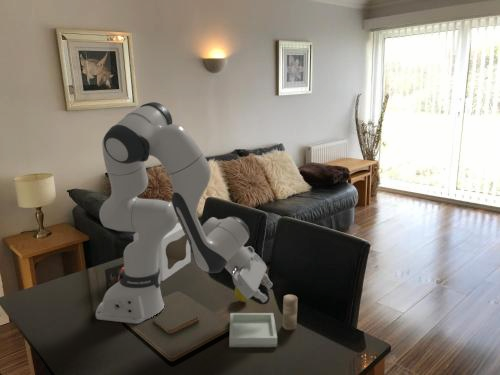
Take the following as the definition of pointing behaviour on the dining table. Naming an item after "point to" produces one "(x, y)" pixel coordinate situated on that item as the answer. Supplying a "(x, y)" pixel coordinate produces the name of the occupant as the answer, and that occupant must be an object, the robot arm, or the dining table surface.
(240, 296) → the lemon
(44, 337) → the dining table surface
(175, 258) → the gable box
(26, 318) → the dining table surface
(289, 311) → the dowel
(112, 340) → the dining table surface
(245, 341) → the tray
